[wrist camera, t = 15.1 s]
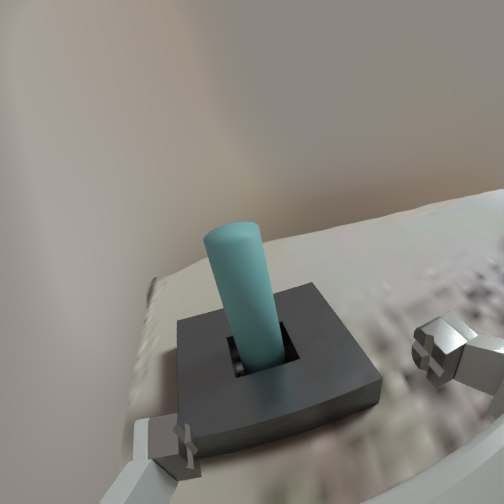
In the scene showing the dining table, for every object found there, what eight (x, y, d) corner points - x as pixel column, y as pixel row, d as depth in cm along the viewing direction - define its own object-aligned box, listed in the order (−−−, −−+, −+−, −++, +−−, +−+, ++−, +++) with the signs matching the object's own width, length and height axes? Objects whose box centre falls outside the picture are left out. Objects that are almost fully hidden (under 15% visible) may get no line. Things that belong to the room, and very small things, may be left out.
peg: (281, 352, 27) (252, 217, 22) (293, 380, 24) (264, 235, 18) (243, 364, 27) (202, 231, 21) (251, 393, 24) (205, 251, 18)
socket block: (314, 305, 32) (311, 282, 31) (379, 401, 20) (382, 377, 18) (186, 342, 31) (176, 320, 30) (195, 459, 18) (180, 440, 17)
